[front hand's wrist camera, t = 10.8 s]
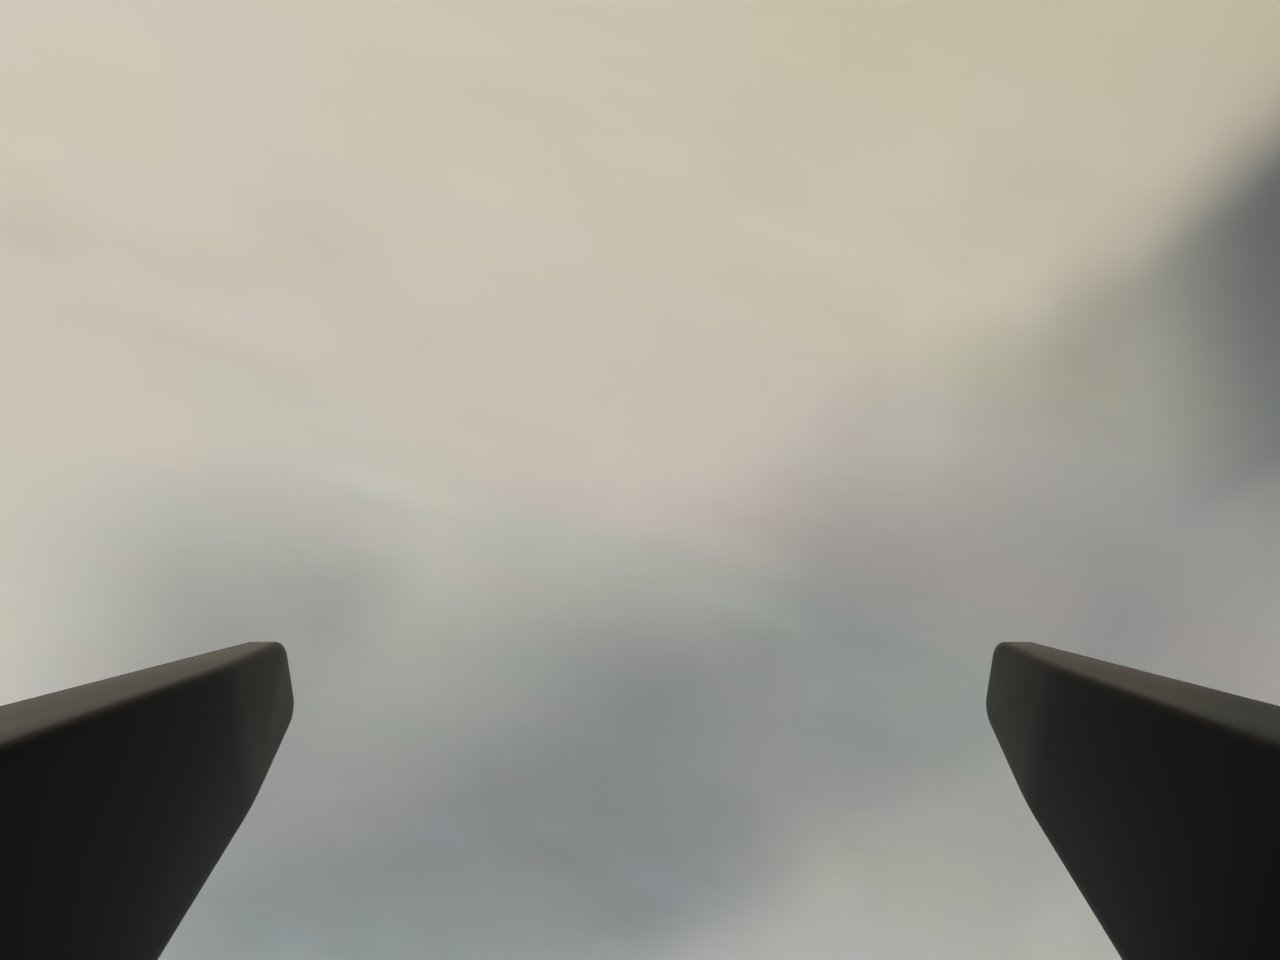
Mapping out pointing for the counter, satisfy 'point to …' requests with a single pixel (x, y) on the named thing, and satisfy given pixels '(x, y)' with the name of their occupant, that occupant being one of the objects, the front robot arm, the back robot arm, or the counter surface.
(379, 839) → the counter surface
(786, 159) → the counter surface
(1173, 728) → the front robot arm
